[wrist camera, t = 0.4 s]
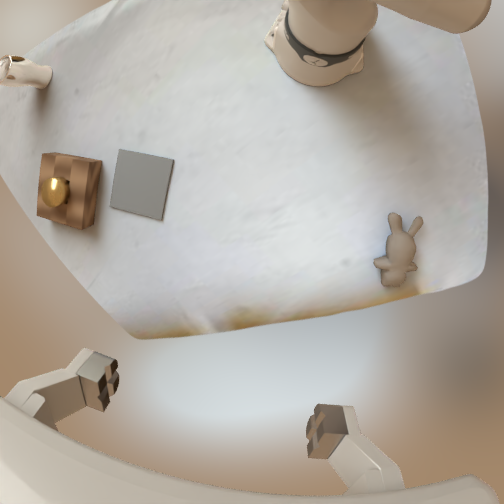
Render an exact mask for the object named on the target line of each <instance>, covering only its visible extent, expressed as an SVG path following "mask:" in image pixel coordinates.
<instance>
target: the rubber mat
mask: <svg viewBox="0 0 504 504" xmlns="http://www.w3.org/2000/svg"><path fill="white" fill-rule="evenodd" d="M173 162H174V160H172V159H168V158H163V157H158V156H153V155H148V154H143V153H138V152H132V151H127V150H121V149H119V153H118V158H117V163H116V169H115V175H114V181H113V187H112V194H111V201H110V207H113V208H117V209H121V210H125V211H128V212H132V213H136V214H140V215H144V216H147V217H151V218H155V219H159V220H162V216H163V210H164V205H165V200H166V195H167V190H168V185H169V180H170V175H171V171H172V166H173Z"/></svg>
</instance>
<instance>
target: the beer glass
mask: <svg viewBox="0 0 504 504" xmlns="http://www.w3.org/2000/svg"><path fill="white" fill-rule="evenodd" d="M51 77H52V68H51V67H50V66H41V65H37V64H35V63H34V62H32V61H30V60H28V59H26V58H23V57H19V56H12V55H5V56H4V57H2V58H1V59H0V85H3V86H8V87H22V86H33V87H35V88H38V89H43V88H45V87H46V86H47V85H48V83H49V82H50V80H51Z"/></svg>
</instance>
